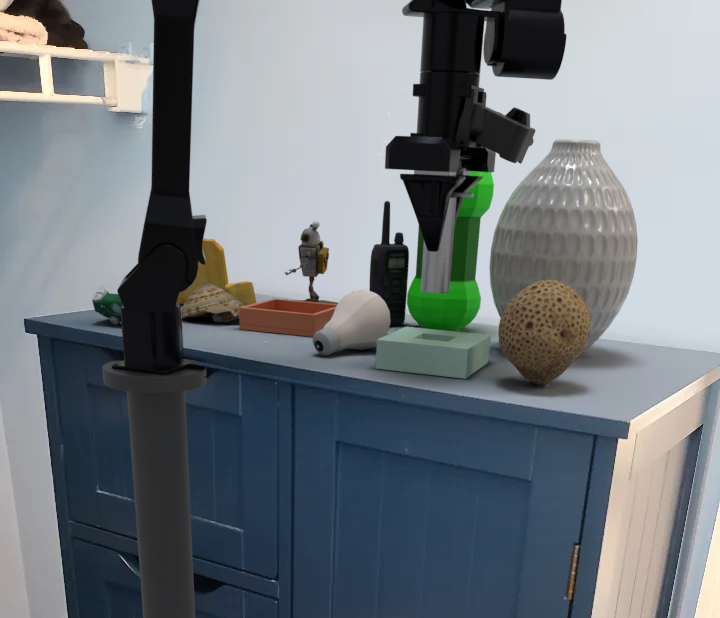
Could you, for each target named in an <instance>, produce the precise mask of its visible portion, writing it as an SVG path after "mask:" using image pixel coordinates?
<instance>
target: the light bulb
mask: <svg viewBox="0 0 720 618" xmlns="http://www.w3.org/2000/svg"><path fill="white" fill-rule="evenodd" d="M337 303H338V304H337V306H336V308H335V311H334V313H333V316H332V318H331V320H330V321H329V322H328V323H327V324H326V325H325V326H324V328H323V329H321V330H320V331H318V332H316V333H315V334H314V336H313V337H312V345H313V347H314V350H316V352H317V353H318V354H319V355H321V356H324V357H328V356H330V355H331V354H333V353H335V352H340V351H342V350H345V349H348V350H357V351H365V350H368V349H372V348H375V347H377V339H379V338H382V337H384V336H386V335H389V331H390V327H391V325H390V322H391V320H390V311H389V309H388V307H387V305H386V303H385V301H384V300H383V299H382V298H381V297H380V296H379V295H377V294H376V293H374V292H371V291H370V290H367V289H358V290H353V291H351V292H349V293H346V294H345V295H344V296H343V297H342V298H341V299H340V300H339V302H337Z"/></svg>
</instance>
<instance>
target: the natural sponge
mask: <svg viewBox="0 0 720 618" xmlns="http://www.w3.org/2000/svg"><path fill="white" fill-rule="evenodd" d="M590 328H591V319H590V313H589V310H588V307H587V305H586V303H585V302H584V300H583V299H582V298H581V296H580V295H579V294H578V293H577V292H576V291H575V290H574V289H573V288H571V287H569V286H567V285H565V284H563V283H562V282H559V281H555V280H542V281H538V282H536V283H533V284H531V285H529V286H528V287H526V288H524V289H523V290H521V291H520V292H519V293H518V294H516V295H515V296H514V297H513V298H512V299H511V300H510V301H509V303H508V304H507V305H506V307H505V309H504V312H503V315H502V317H501V318H500V319H499V323H498V332H497V333H498V334H497V335H498V344H499V347H500V351H501V352H502V354H503V355H504V357H505V358H506V359H507V361H509V362H510V363H511V365H512V366H513V367H514V368H515V370H517V372H518V373H519V374H520V376H522V377H523V378H524V379H525V380H527V382H529V383H531V384H533V385H538V386H540V385H545V384H549V383H551V382H553V381H554V380H556V379H557V378H559V377H560V376H562V375H563V374H564V373H565V372H566V371H567V370H568V369H569V368H570V367H571V365H572V364H573V363H574V362H575V360H576V359H577V358H578V357H579V356H578V355H579V354H580V352H581V351H582V349H583V348H584V346H585V344H586V341H587V339H588V336H589V333H590Z"/></svg>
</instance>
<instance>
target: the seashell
mask: <svg viewBox="0 0 720 618" xmlns="http://www.w3.org/2000/svg"><path fill="white" fill-rule="evenodd" d="M243 306H244V305H242V303H241V302H239V301H238V300H236V299H234V298H233V297H232V296H231V295H230V294H229V293H227V292H224V290H223V289H221V288H219V287H217V286H215V285H212V284H210V283H207V282H204V283H202V284H201V285H200V287H198V288H197V289H196V290H195V291H194V292H193V294H192V295H190V296H189V297H188V299H187V302H186V303H184V304H182V306H181V318H212V321H214V322H215V323H228V322H231V321H234V320H236V319H239V308H240V307H243Z"/></svg>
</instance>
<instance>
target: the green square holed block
mask: <svg viewBox="0 0 720 618" xmlns="http://www.w3.org/2000/svg"><path fill="white" fill-rule="evenodd" d="M491 336H492V335H491V334H485V333H476V332H465V331H461V332H455V331H445V330H435V329H425V328H422V327H412V326H404V327H402V328H400V329H398V330H395V331H393V332H391V333H388V334H387V335H386V336H384V337H382V338H379V339H377V346H376V350H375V351H376V352H375V354H376V355H375V369H376V370H384V371H392V372H402V373H409V374H417V375H418V374H419V375H428V376H436V377H444V378H445V377H447V378H453V379H464V380H465V379H467V378H469V377H470V376H472V375H473V374H474V373H476V372H477V371H479V370H480V369H481V368H483V367H484V366H486V365H487V364H489V357H490V348H491Z"/></svg>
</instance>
